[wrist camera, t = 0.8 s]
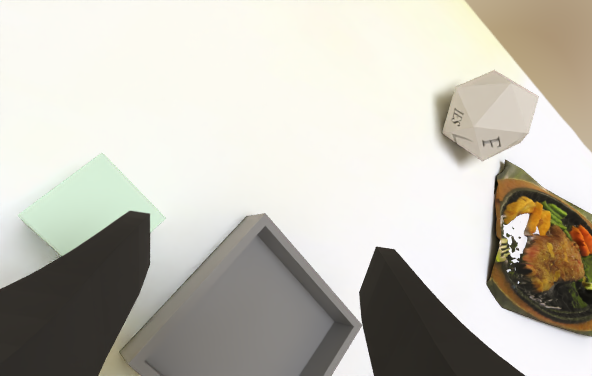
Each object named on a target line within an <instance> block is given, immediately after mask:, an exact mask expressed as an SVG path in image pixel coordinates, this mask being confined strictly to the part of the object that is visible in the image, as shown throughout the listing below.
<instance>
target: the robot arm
mask: <svg viewBox="0 0 592 376" xmlns="http://www.w3.org/2000/svg"><path fill="white" fill-rule="evenodd" d="M149 266H150V213H143V212H137V211H128V212H127V213H125V214H124V215H122V216H121V217H120V218H118V219H117V220H115V221H114V222H112V223H111V224H110V225H108V226H107V227H105V228H104V229H103V230H101V231H100V232H98V233H97V234H95V235H94V236H92V237H91V238H89V239H88V240H86V241H85V242H83V243H82V244H81V245H79V246H78V247H76V248H74V249H73V250H71V251H70V252H68V253H66V254H65V255H63V256H61V257H60V258H58V259H57V260H55V261H53V262H52V263H50V264H48V265H47V266H45V267H43V268H41V269H39V270H38V271H36V272H34V273H32V274H30V275H28V276H26V277H24V278H22V279H20V280H18V281H16V282H14V283H12V284H10V285H8V286H6V287H4V288H2V289H0V376H98V375H99V372H100V370H101V368H102V366H103V364H104V362H105V359H106V357H107V355H108V353H109V352H110V350H111V348H112V346H113V344H114V342H115V340H116V338H117V336H118V334H119V332H120V330H121V328H122V326H123V325H124V323H125V321H126V319H127V317H128V315H129V313H130V311H131V309H132V307H133V305H134V303H135V301H136V299H137V297H138V295H139V293H140V290H141V288H142V285H143V282H144V280H145V277H146V274H147V271H148V268H149ZM359 295H360V308H361V318H362V324H363V329H364V334H365V338H366V343H367V347H368V351H369V356H370V360H371V364H372V369H373V373H374V376H525V375H524V374H522V373H521V372H520V371H518V370H517V369H516V368H514V367H513V366H512V365H510V364H509V363H508V362H507V361H505V360H504V359H503V358H501V357H500V356H499V355H498V354H496V353H495V352H494V351H493V350H491V349H490V348H489V347H488V346H487V345H486V344H484V343H483V342H482V341H481V340H480V339H479V338H478V337H476V336H475V335H474V334H473V333H472V332H471V331H470V330H469V329H468V328H466V327H465V326H464V325H463V324H462V323H461V322H460V321H459V320H458V319H457V318H456V317H455V316H454V315H453V314H452V313H451V312H450V311H449V310H448V309H447V308H446V307H445V306H444V305H443V304H442V303H441V302H440V300H439V299H438V298H437V297H436V296H435V295H434V294H433V293H432V292H431V291H430V290H429V288H428V287H427V286H426V285H425V284H424V283H423V282H422V280H421V279H420V278H419V277H418V276H417V275H416V274H415V272H414V271H413V270H412V269H411V268H410V267H409V265H408V264H407V263H406V262H405V261H404V260H403V258H402V257H401V256H400V255H399V254H398V253H397V252H396V251H395V250H394V249H389V248H382V247H376V249H375V251H374V254H373V257H372V259H371V262H370V265H369V267H368V270H367V273H366V276H365V278H364V281H363V284H362V286H361V289H360V292H359Z"/></svg>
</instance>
